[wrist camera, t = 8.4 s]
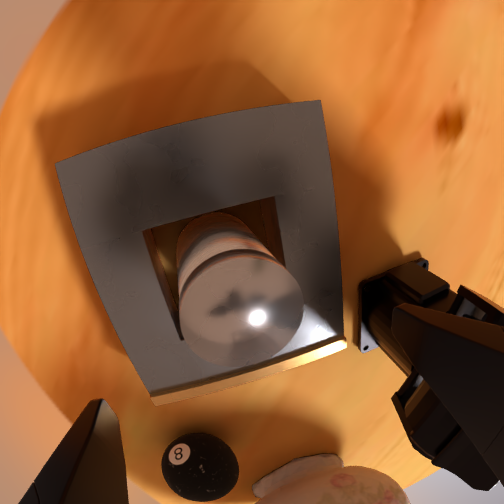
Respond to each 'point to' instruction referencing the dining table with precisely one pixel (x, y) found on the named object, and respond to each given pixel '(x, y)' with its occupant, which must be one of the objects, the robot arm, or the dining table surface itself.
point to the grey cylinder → (233, 293)
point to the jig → (199, 202)
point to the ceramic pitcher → (327, 484)
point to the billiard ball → (200, 467)
